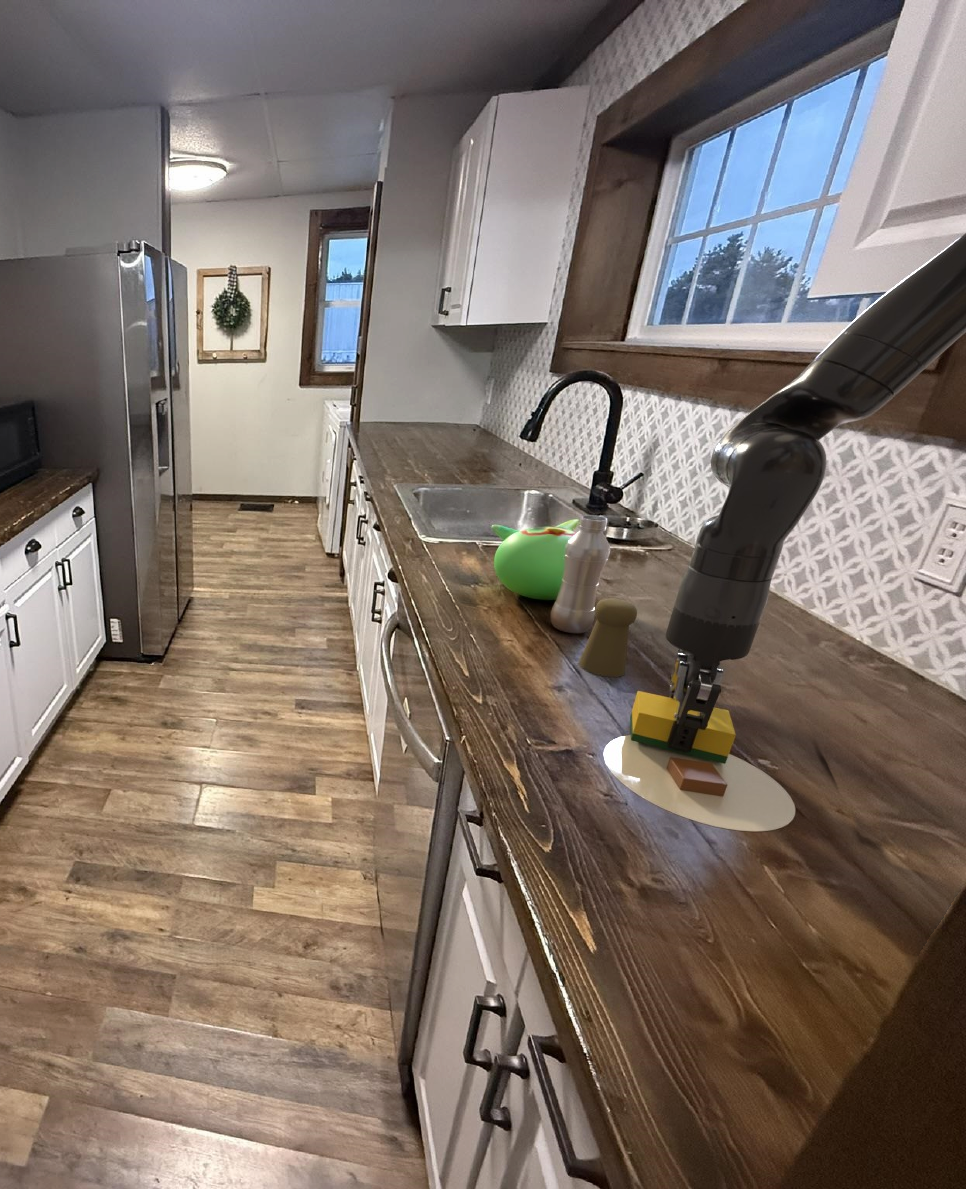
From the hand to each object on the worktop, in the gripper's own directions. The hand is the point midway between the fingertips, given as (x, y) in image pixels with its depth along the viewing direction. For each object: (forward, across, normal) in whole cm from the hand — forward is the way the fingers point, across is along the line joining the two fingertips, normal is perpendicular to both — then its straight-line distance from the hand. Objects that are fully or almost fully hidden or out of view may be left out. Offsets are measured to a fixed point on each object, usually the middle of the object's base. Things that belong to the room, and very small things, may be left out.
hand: (676, 734), depth 77 cm
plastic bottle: (+2, +33, +13) cm, 35 cm away
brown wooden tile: (+1, -8, -1) cm, 8 cm away
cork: (+2, +20, +8) cm, 22 cm away
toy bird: (+2, +48, +18) cm, 52 cm away
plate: (+2, -7, -1) cm, 7 cm away
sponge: (+1, 0, 0) cm, 1 cm away
